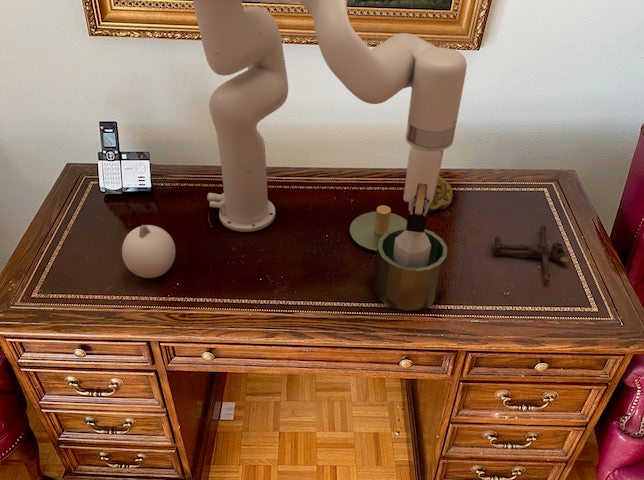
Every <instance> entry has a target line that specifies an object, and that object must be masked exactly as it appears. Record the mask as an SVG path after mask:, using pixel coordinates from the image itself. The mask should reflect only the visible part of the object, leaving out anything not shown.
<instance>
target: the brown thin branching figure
mask: <svg viewBox="0 0 644 480" xmlns="http://www.w3.org/2000/svg"><path fill="white" fill-rule="evenodd" d="M547 228H548V227H547V225H545V224H541V225H539V230H540V243H539V242H532V243H530V244H529V245H523V244H508V243H507V244H506V243H501V242H502V241H501V239H502V238H501V237H500V236H499V235H496V236H495V238H494V247H493V248H494V249H493V250H494V251H493V252H494V253H493V254H494V256H500V255H501V256H509V257H510V256H511V257H512V256H517V257H518V256H519V257H529V258H532V259H541V262H542V268H543V281H544V282H546V283H547V282H550V281H551V272H550V265H549V262H550V261H549V256H550V257H551V259H552V260H553V261H555V262H562V263H563V264H564V263H565V264H566V263H569V262H570V259H569V258H568V257H567V256H566V253H568V249H567V248H566V247H563V244H562V243H559V242H558V241H557V242H554V243H553V244H552V245H551V249H550V251H549V247H548V246H549V245H548V241H547Z"/></svg>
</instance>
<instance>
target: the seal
mask: <svg viewBox="0 0 644 480" xmlns="http://www.w3.org/2000/svg"><path fill="white" fill-rule="evenodd" d="M453 191H454V190H453V188H452V186H451V184H450V183H449V182H448V181H447V180H446V179H445V178H443V177H442V176H441V175H439V177H438V181H437V186H436V190H435V194H434V197H433V201H432V203H431V204H430V206H429V209H428V212H429V213H434V212H437V211H439V210H440V211H443V210H445V209H446V208H448V207H449V206H450V205H451V203H452V200H453V198H454V197H453V194H454V193H453ZM428 212H427V213H428Z"/></svg>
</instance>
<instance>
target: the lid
mask: <svg viewBox="0 0 644 480" xmlns="http://www.w3.org/2000/svg"><path fill="white" fill-rule="evenodd" d="M406 226H407V219H406V218H404V217H402V216H401V215H398V214H397V213H394V212H393V213H392V209H391V207H390V206H388V205H383V204H382V205H379V206H377V207H376V211H370V212H365V213H363V214H360V215H359V216H357V217H355V218H354V219H353V220H352V222H351V224H350V226H349V236H350V238H351V239H352V241H353V242H354V243H355V244H356V245H357V246H358V247H360V248H362V249H363V250H367V251H370V252H374V253H377V250H378V243H379V239H380V238H381V237H382V236H383V235H384V234H385V233H386V232H388V231H390V230H392V229H395V228H399V227H406Z"/></svg>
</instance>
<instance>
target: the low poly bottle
mask: <svg viewBox="0 0 644 480" xmlns="http://www.w3.org/2000/svg"><path fill="white" fill-rule="evenodd" d="M415 196H416V195H415ZM426 197H427V196H426ZM411 202H412V200H411ZM411 202H408V212H409V211H410V209H411ZM424 204H425V203H424ZM424 204H423V207H424ZM414 206H416V202H414ZM429 206H430V204H428V205H427V211H426V213H427V214H428V209H429ZM430 250H431V244H430V242H429V239H428V237H427V236H426V234H425V233H424V232H423V233H421V232H413V231H407V230H405V231H404V232H403V233H401V234H400V235H399V236H398V237H396V238H395V244H394V252H393V262H395V263H397V264H400V265H402V266H407V267H414V268H419V267H426V266H427V264H428V260H429V255H430Z"/></svg>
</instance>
